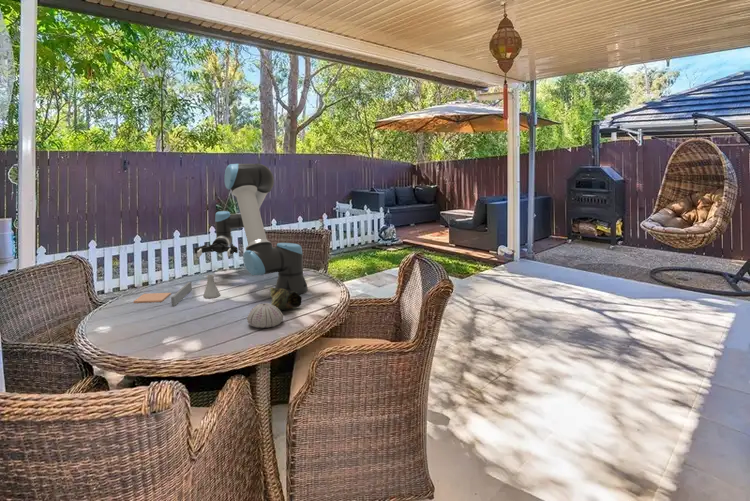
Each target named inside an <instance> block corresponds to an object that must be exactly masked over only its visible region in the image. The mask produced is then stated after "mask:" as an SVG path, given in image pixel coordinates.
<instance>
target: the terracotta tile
mask: <svg viewBox="0 0 750 501" xmlns="http://www.w3.org/2000/svg"><path fill="white" fill-rule="evenodd" d="M171 295H172V292H158V293H157V292H156V293H152V292H151V293H143V294H142V295H140V296H139V297H138V298H136V299H135V300H133V302H132V303H133V304H144V303H163V302H164V301H165V300H166V299H168V297H170V296H171ZM162 301H163V302H162Z"/></svg>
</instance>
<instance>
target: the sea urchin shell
mask: <svg viewBox="0 0 750 501" xmlns="http://www.w3.org/2000/svg"><path fill="white" fill-rule="evenodd" d="M246 320H247V321H246V322H247V323H248V325H249V326H251V327H253V328H259V329H260V328H261V329H264V328H267V329H268V328H271V327H272V328H273V327H276V326H279V325H280V324H281V323H282V322H283V320H284V315H283V313H282V310H279V309H278V308H277V307H276V306H274V305H272V304H271V303H269V302H266V303H258V304H257V305H255V306H254V307H253V308H252V309H251V310H250V311H249V313H248V315H247V317H246Z"/></svg>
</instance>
